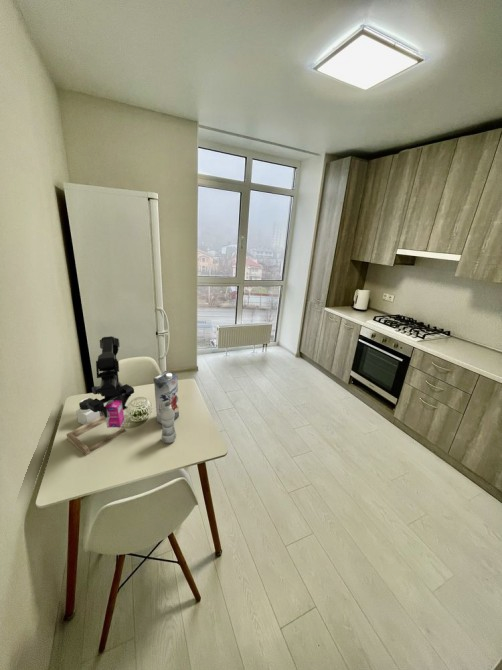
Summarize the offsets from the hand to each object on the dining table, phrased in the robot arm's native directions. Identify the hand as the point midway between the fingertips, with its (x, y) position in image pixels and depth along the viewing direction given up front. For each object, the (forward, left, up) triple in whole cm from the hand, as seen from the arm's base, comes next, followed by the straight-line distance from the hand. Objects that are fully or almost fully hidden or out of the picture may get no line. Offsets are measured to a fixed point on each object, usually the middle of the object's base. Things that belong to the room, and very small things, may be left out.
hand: (114, 412), depth 120 cm
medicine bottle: (+2, -20, -13) cm, 24 cm away
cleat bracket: (+5, -7, -13) cm, 15 cm away
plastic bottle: (-12, +22, -13) cm, 28 cm away
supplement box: (0, 0, -6) cm, 6 cm away
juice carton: (-22, +10, -13) cm, 27 cm away
